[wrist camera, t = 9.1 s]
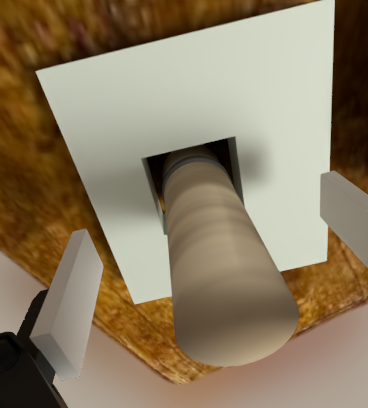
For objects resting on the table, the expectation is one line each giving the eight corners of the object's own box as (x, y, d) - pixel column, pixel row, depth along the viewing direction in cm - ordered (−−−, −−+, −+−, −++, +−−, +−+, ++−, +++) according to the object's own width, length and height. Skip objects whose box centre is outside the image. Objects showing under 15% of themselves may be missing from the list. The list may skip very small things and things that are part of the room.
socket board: (51, 66, 18) (35, 71, 16) (308, 2, 18) (334, -3, 16) (136, 278, 27) (134, 304, 25) (309, 239, 27) (326, 260, 24)
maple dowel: (154, 150, 22) (157, 296, 10) (216, 135, 22) (300, 264, 9) (169, 204, 24) (187, 378, 12) (225, 191, 24) (303, 352, 12)
